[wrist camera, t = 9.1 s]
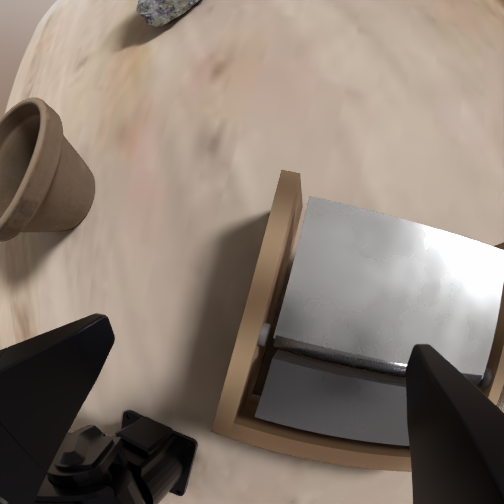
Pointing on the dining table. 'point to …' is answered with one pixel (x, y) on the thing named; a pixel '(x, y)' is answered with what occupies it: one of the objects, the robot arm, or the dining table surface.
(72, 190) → the flower pot
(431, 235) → the trapdoor
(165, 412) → the dining table surface
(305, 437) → the trap frame
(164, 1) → the mineral rock
